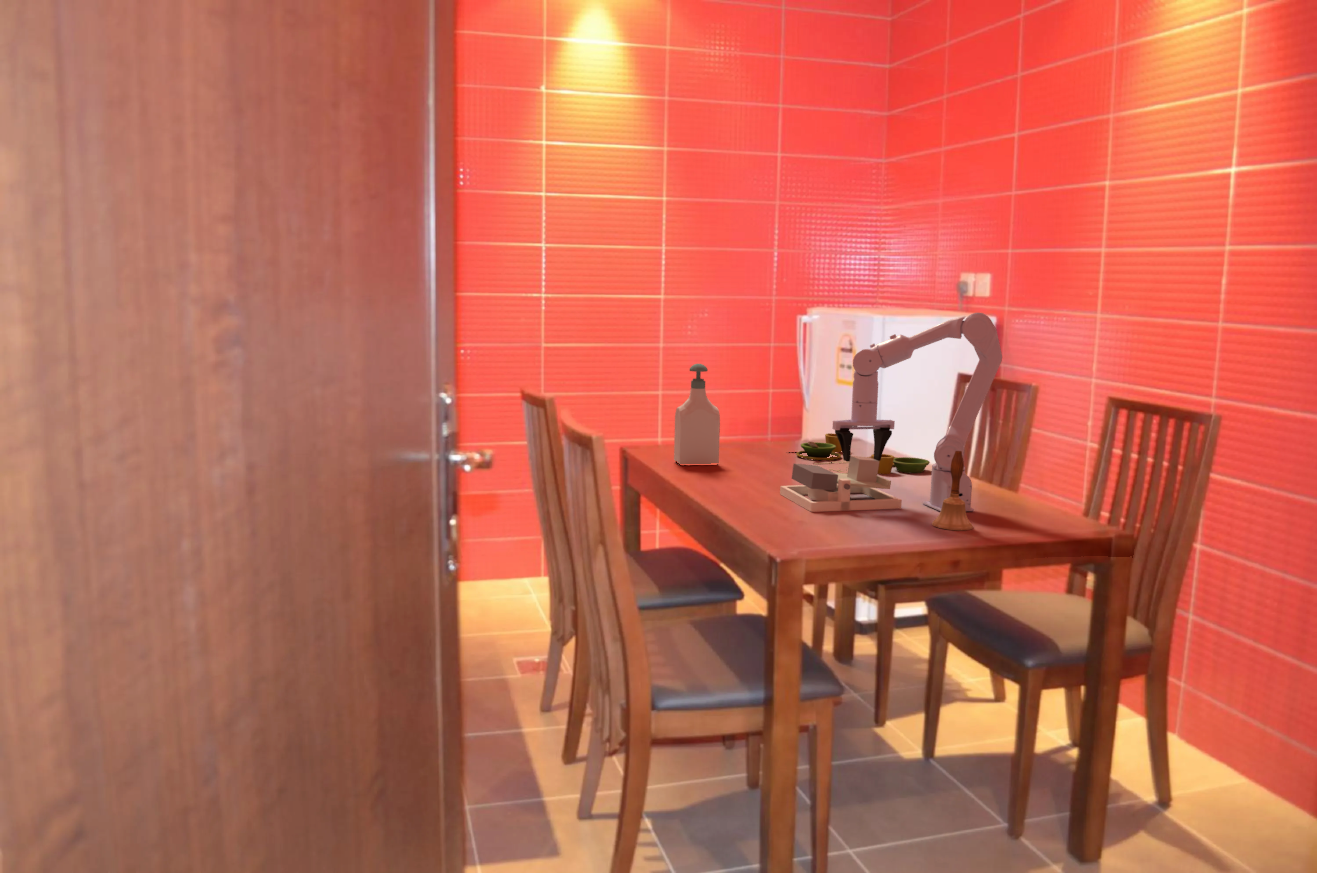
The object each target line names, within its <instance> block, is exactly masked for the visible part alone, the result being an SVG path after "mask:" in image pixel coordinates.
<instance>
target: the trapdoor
mask: <svg viewBox="0 0 1317 873" xmlns="http://www.w3.org/2000/svg"><path fill="white" fill-rule="evenodd" d="M817 465H818V464H807V463H806V464H805V463H793V466H792V474H791V479H792V480H793V481H795V482H797V483H799V484H800V485H801V484H802V485H805V486H807V487H809V488H811V489H821V490H833V491H836V487H837V484H838V480H839V479H849V480H851V484H850V486H856V487H869V488H876V489H880V490H883V489H884V490H890V489H891V485H892V484H891V483H892V480H890V479H887V478H885V477H883V476H880V475H879V474H877V480H876V483H875V482H863V481H855V480H853V479H851V478H849V477H847V474H844V473H840V472H834V471H831V470H827V468H824V467H822V466H820V465H818V466H817Z"/></svg>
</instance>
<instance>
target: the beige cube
mask: <svg viewBox="0 0 1317 873" xmlns="http://www.w3.org/2000/svg"><path fill="white" fill-rule="evenodd" d="M878 467H879V461H878V460H875V459H872V458H870V456H858V455H857V456H856V455H850V461H849V463H848V467H847V468H848V471H847V473H848V474H847V477H849V478H851V479H853V480H855V481H863V482H875V483H876V480H877V475H879V474H878Z"/></svg>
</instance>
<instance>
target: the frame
mask: <svg viewBox="0 0 1317 873" xmlns="http://www.w3.org/2000/svg"><path fill="white" fill-rule="evenodd" d="M816 465H817V466H819V464H816ZM850 484H851V480H849V479H839V480H838V484H837V487H836V491H833V490H821V489H811V488H809V487H807V486H805V485H803V484H802V485H801V484H800V485H798V484H797V485H796V484H795V485H794V484H793V485H780V486H779V495H781V496H782V497H784V498H786V499H788V500H789V501H791V502H792V503H794V504H796V505H798V506H800V507H802V508H803V509H805V510H807V511H809V513H810V512H811V513H813V512H815V513H816V512H817V513H818V512H842V511H845V512H846V511H866V510H867V511H868V510H869V511H871V510H874V511H875V510H894V509H895V510H896V509H902V499H901V498H898V497H897V496H895V495H892V494H890V493H887V492H885V491H883V490H882V489H879V488H869V487H856V486H850ZM857 493H858V494H859V493H862V494H863V495H866V496H868V497H870V498H872V499H856V500H855V499H853V500H852V499H850V498H851V494H857ZM804 495H807V497H808V498H807V497H805V496H804ZM809 498H810V499H809ZM812 500H814V501H812Z"/></svg>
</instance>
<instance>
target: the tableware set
mask: <svg viewBox="0 0 1317 873" xmlns="http://www.w3.org/2000/svg"><path fill="white" fill-rule="evenodd" d="M824 439H825V442H815V441H808V442H803V443H801V444H800V447H801V449H803V450H798V451H799V452H797V453H795V455H796V456H797V457H798V456H799V457H803V458H807V459H813V460H812V461H815V460H831V461H828V462H813V463H814V464H813V465H832V464H831V462H832V463H837V462H838V463H839V464H849V461H848V462H847V461H846V462H844V460H842V461H843V463H842V462H840V461H835V460H834V459H837V460H839V459H840V458H841V457H842V454H841V453H842V452H841V451H842V449H841V445H840V442H839V440H838V438H837V435H836V434H835V433H832V432H831V433H825V434H824ZM835 452H841V453H835ZM802 453H807V455H808V456H803V455H800V454H802ZM830 454H831V455H835V456H837V457H833V456H832V457H830V458H827V457H829V456H830ZM799 457H798V458H799ZM869 457H870V458H872V459H874V453H873V454H871V456H869ZM838 458H839V459H838ZM829 463H830V464H829ZM930 463H931V462H930V460H928V459H926V458H925V459H923V458H920V457H911V456H910V457H909V456H908V457H907V456H905V457H901V456H900V457H899V456H898V457H896V456H894V455H892V454H887V453H882V456H881V460H880V461H879V467H878V474H877V475H891V473H892V469H893V467H895V469H896V470H897V472H900V473H905V474H920V473H923V472H924V471H925V469H926V467H927V466H928V465H930ZM831 470H833V469H829V470H828V471H831ZM832 472H836V473H840V472H844V470H841V469H840V470H833V471H832ZM844 474H848V472H846V473H844Z"/></svg>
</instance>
